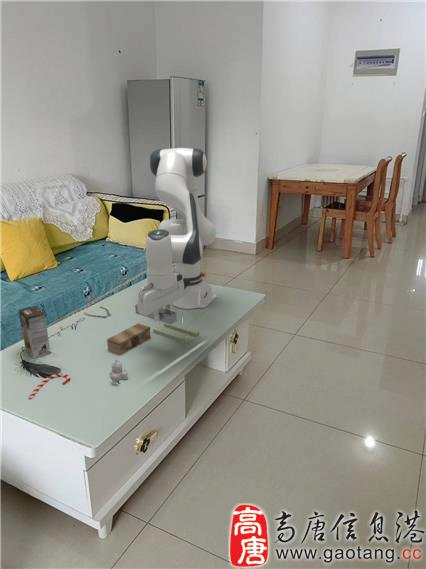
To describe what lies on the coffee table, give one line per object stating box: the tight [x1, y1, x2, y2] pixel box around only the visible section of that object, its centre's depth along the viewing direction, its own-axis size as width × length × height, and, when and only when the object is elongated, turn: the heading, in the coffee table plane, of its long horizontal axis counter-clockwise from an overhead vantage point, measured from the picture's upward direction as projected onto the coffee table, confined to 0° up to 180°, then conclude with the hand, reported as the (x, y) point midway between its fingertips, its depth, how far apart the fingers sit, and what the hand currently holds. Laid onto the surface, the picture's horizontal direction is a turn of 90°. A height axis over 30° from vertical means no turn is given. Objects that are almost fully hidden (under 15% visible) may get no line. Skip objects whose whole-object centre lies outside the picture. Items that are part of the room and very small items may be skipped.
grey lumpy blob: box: [109, 358, 129, 383], centre depth 139 cm, size 5×7×8 cm
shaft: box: [134, 303, 178, 324], centre depth 150 cm, size 3×16×3 cm, turn 56°
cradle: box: [152, 322, 200, 344], centre depth 169 cm, size 8×16×3 cm, turn 56°
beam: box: [106, 322, 152, 356], centre depth 160 cm, size 16×6×6 cm, turn 146°
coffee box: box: [18, 305, 51, 359], centre depth 156 cm, size 9×6×16 cm
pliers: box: [83, 306, 112, 319], centre depth 190 cm, size 10×1×20 cm
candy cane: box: [28, 373, 71, 400], centre depth 137 cm, size 8×1×15 cm
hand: (162, 317), depth 149 cm, fingers closed on shaft, 3 cm apart
